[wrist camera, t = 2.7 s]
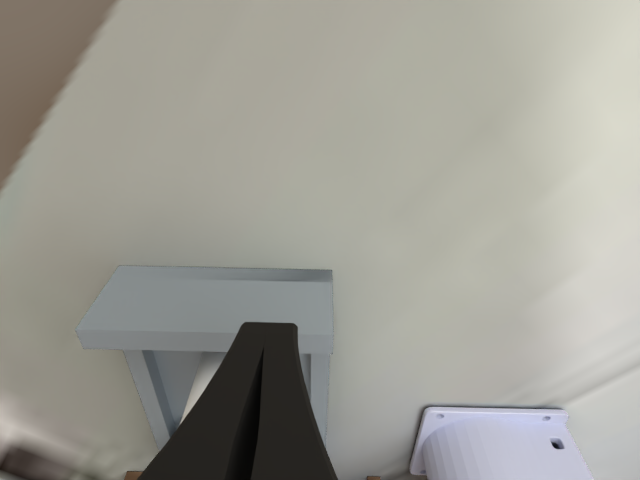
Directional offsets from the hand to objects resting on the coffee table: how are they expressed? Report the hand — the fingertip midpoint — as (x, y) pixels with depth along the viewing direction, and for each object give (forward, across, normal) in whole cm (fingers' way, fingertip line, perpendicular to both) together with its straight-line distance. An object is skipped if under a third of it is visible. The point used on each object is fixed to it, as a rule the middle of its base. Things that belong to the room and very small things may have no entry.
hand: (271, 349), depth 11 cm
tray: (+10, +4, +14) cm, 17 cm away
